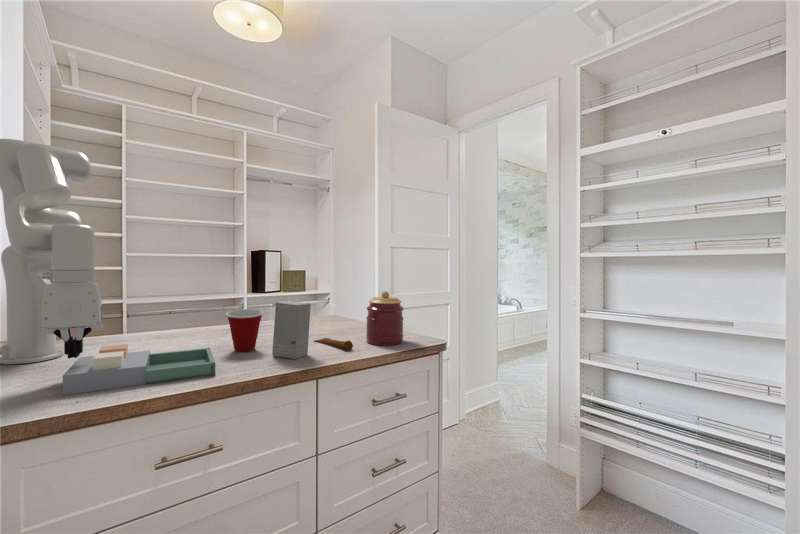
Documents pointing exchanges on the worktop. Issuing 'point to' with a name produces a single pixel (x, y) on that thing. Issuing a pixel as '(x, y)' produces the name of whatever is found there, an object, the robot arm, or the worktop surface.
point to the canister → (384, 320)
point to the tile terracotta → (115, 349)
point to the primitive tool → (336, 343)
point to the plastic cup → (244, 328)
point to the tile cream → (108, 360)
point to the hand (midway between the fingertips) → (73, 356)
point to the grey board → (106, 374)
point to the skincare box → (291, 329)
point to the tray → (180, 365)
